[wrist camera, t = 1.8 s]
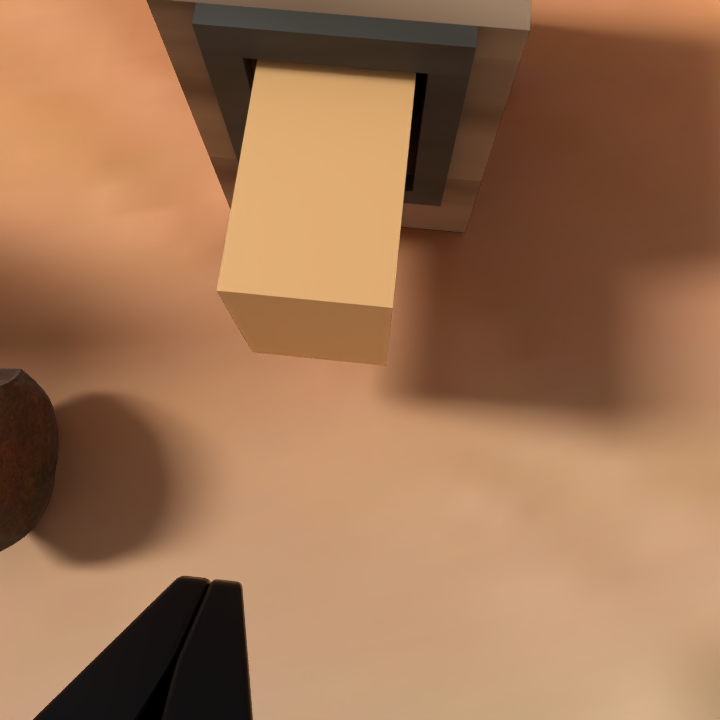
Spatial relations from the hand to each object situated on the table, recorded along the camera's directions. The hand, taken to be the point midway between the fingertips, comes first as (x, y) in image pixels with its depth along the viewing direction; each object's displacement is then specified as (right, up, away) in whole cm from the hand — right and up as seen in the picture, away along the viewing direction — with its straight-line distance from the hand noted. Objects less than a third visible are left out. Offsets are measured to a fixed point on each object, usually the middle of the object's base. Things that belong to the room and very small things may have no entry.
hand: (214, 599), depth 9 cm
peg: (+1, +8, +12) cm, 14 cm away
